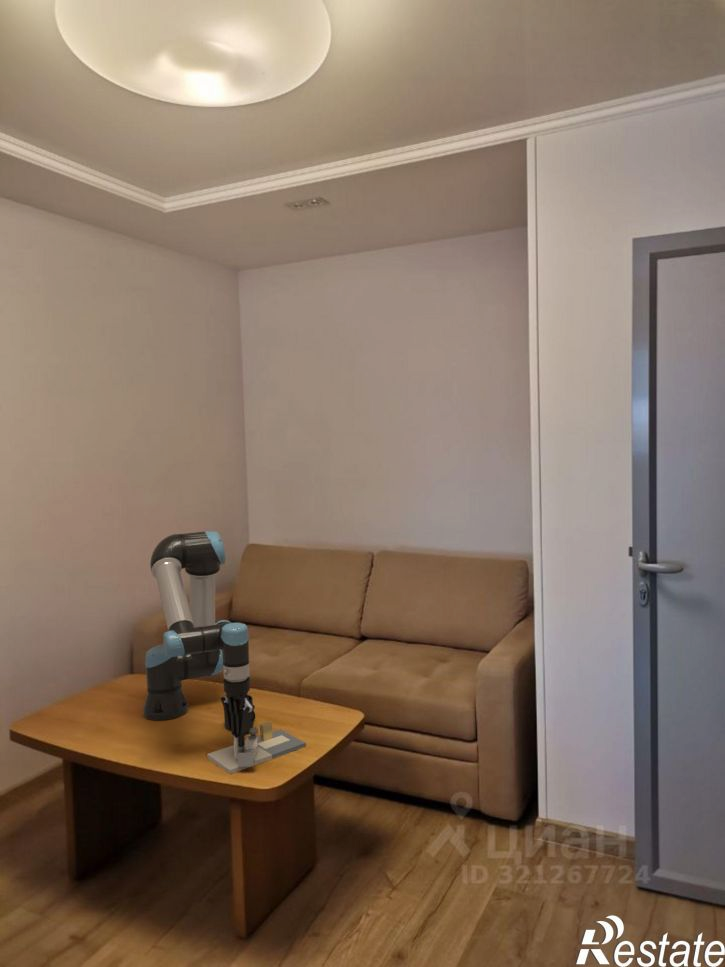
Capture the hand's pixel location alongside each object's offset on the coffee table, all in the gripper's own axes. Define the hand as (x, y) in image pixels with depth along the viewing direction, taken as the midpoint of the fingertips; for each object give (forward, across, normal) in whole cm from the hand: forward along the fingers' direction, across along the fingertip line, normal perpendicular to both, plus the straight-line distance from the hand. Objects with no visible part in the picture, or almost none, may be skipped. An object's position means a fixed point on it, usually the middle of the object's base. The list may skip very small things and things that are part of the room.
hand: (239, 756), depth 213 cm
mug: (+3, -21, +18) cm, 28 cm away
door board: (+3, -2, +8) cm, 9 cm away
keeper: (+1, -5, +14) cm, 15 cm away
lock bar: (+1, +2, +2) cm, 3 cm away
